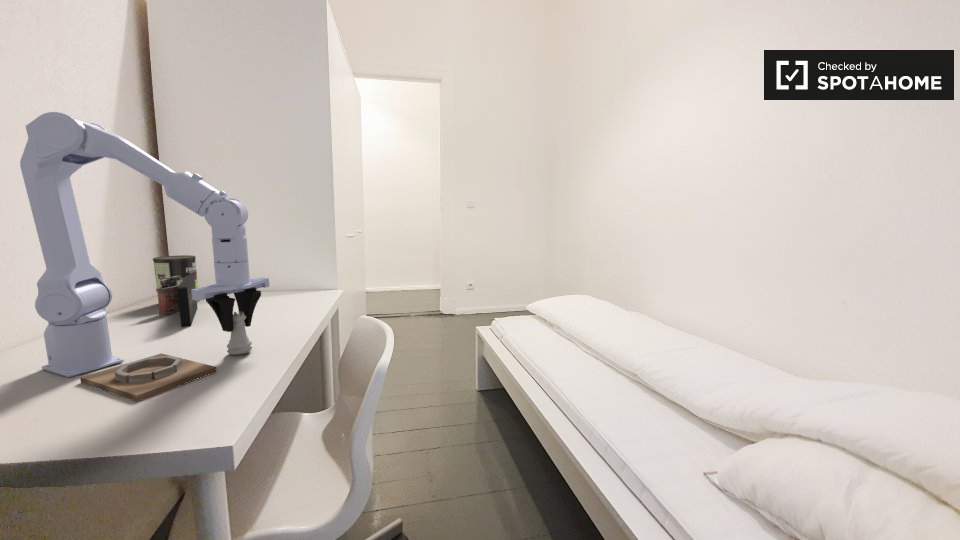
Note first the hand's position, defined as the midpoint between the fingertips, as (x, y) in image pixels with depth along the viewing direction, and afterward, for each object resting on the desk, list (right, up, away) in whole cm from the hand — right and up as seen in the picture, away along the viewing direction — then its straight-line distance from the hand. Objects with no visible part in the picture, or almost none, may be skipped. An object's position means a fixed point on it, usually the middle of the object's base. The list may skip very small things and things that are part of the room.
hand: (236, 328), depth 79 cm
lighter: (-37, 0, +31) cm, 48 cm away
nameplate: (-29, -1, +27) cm, 40 cm away
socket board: (-8, -7, -11) cm, 15 cm away
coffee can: (-44, +2, +43) cm, 61 cm away
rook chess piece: (0, -5, +1) cm, 5 cm away
